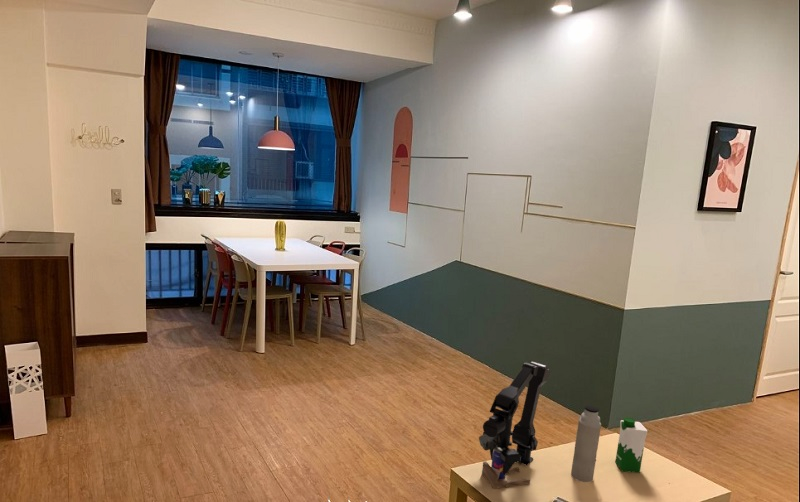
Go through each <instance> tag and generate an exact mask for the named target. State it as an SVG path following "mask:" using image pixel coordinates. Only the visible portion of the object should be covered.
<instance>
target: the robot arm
mask: <svg viewBox="0 0 800 502" xmlns="http://www.w3.org/2000/svg"><path fill="white" fill-rule="evenodd" d="M550 375H551V369H549V365H546V364H543V363H539V362H537V361H536V362H535V361H531V362H524V363H523V364H522V366H521V369H520V370H519V372H518V373H517V374H516V376H515V377H514V379H513V380H512V382H511V383H510V384H509V385H508V386H507V387H505V388H502V389H501V390H500V391H499V392H498V393H497V394H496V396H495V397H494V399H493V402H492V404H491V407H490V410H489V413H491V414H492V415H491V416H489V417H488V419H487V420H486V421H484V422H483V425H482V430H483V433H482V435H479V436H478V440H479V445H480V447H482V449H483V450H484V451H489V454H490V460H491V461H492V457H493V450H494V448H496V447H497V448H501V449H502V450H503V451H502V452H501V458H500V459H501V460H502V461H503V474H505V475H507V472H508V471H509V470H510V468H513V466H514V465H515V464H516V463H520V464H523V465H525V466H528V465H529V464H530V463H531V462H533V460H534V457H532V456H531V454H532V452H533V451H536V450H537V448H538V444H539V442H538V440H537V437H536V428H535V425H534V419H535V416H536V411H537V407H538V406H537V405H538V402H539V397H540V393H541V388H542V387H543V386H544V385H545V384H546V383H547V382H548V379H549V377H550ZM526 387H527V390H526V391H527V392H526V395H525V399H524V405H523V408H522V413H521V416H520V420H519V421H518V422H517V423H515V424H514V426H513V430H512V425H513V418H514V415H515V414H516V412H517V409H518V407H519V405H520V396H521V395H522V393H523V391H524V390H525V388H526ZM511 440H512V441H511ZM513 444H514V445H516V449H515V448H509V447H512V446H513Z"/></svg>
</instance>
